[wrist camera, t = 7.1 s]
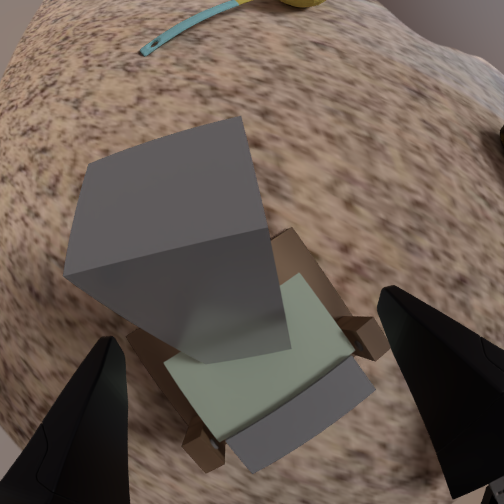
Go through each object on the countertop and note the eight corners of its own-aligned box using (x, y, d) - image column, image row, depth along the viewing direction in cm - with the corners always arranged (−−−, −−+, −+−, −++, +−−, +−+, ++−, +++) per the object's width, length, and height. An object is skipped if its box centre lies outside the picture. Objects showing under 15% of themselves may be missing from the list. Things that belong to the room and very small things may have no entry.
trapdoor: (246, 467, 16) (245, 477, 14) (169, 361, 18) (160, 363, 16) (371, 381, 18) (382, 384, 16) (296, 276, 20) (300, 270, 18)
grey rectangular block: (291, 348, 16) (267, 227, 6) (205, 364, 17) (63, 276, 6) (278, 285, 18) (241, 115, 8) (199, 301, 19) (88, 163, 8)
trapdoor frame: (210, 450, 20) (206, 485, 14) (127, 336, 21) (97, 342, 15) (368, 342, 22) (403, 350, 17) (291, 228, 23) (308, 204, 18)
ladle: (345, 8, 29) (351, -20, 23) (173, 96, 31) (156, 71, 25) (303, -21, 30) (304, -48, 24) (144, 58, 32) (126, 34, 26)
